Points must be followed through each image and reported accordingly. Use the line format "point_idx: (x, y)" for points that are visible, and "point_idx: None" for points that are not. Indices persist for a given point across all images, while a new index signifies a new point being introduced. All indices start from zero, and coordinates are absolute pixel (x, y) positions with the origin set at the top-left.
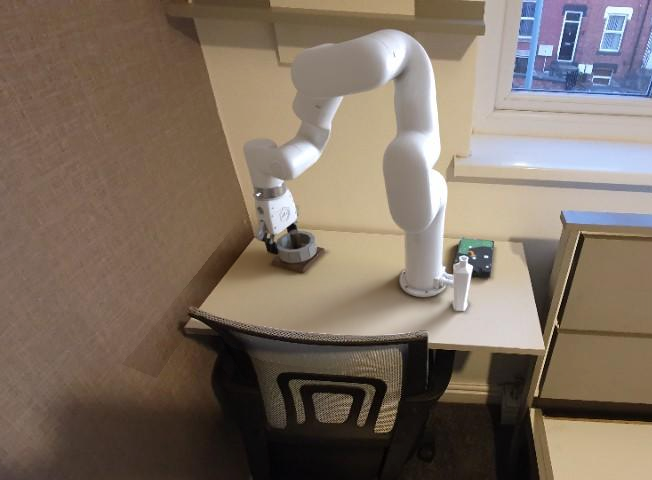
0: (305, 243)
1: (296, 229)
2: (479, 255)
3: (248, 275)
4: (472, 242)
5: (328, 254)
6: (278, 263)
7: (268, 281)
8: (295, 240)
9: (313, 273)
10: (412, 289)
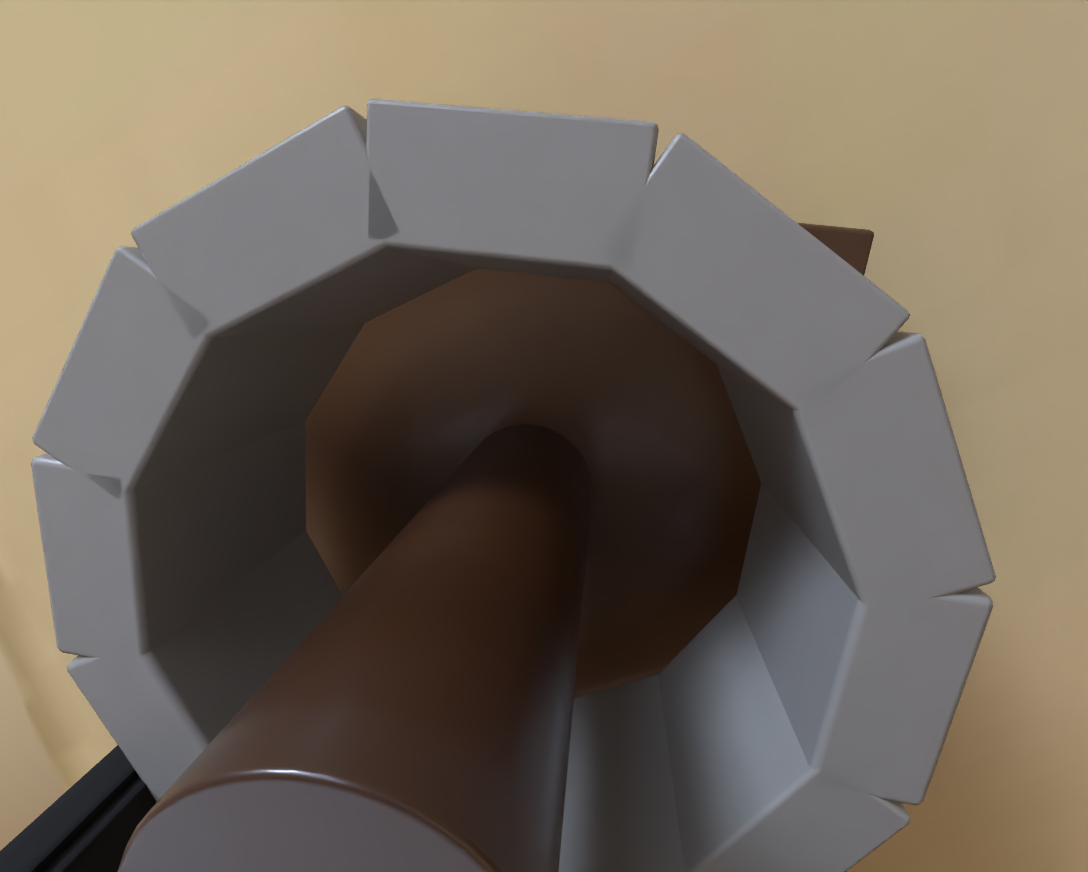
0: (302, 491)
1: (89, 797)
2: None
3: (976, 845)
4: None
5: None
6: None
7: (1073, 602)
8: (551, 630)
9: (814, 90)
10: None
